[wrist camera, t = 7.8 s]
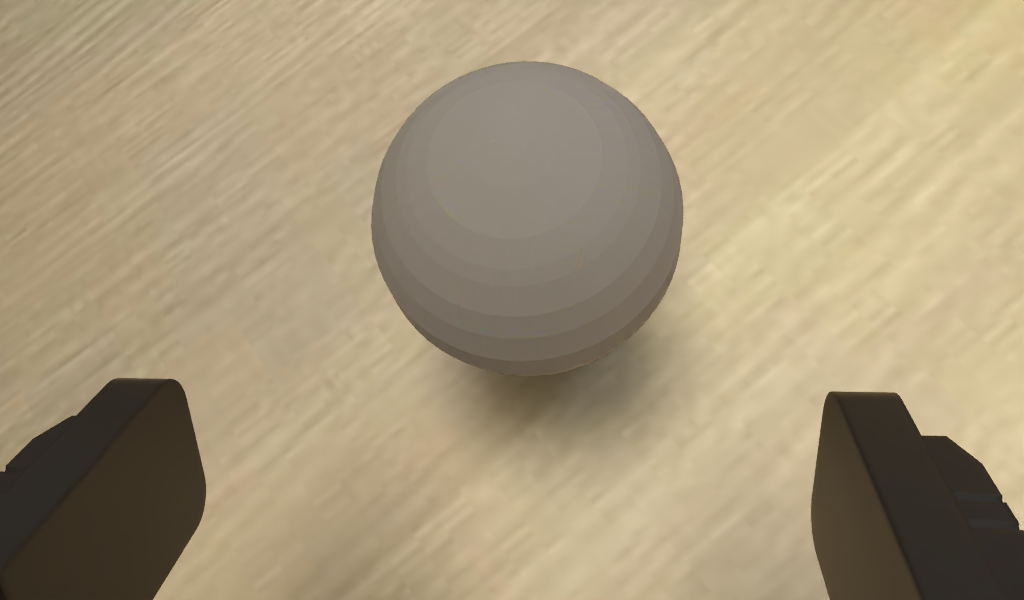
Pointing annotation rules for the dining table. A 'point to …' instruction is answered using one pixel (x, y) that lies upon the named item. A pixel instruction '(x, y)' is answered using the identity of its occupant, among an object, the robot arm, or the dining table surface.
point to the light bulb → (527, 218)
